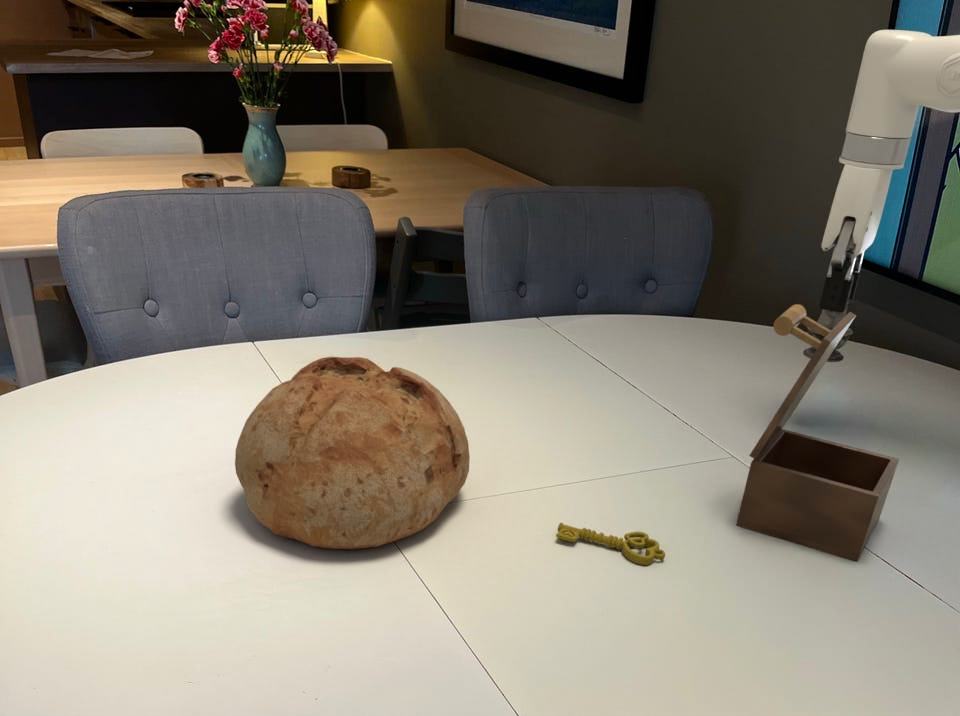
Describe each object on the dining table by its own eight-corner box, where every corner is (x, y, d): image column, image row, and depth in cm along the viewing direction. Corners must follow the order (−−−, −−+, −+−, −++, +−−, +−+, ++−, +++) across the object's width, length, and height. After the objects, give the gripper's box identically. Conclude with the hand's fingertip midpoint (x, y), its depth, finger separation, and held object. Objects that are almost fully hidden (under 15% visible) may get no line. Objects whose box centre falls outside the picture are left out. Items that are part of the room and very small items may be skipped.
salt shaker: (836, 365, 129) (860, 270, 122) (793, 355, 132) (815, 261, 125) (852, 355, 133) (876, 262, 126) (810, 345, 136) (832, 254, 129)
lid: (856, 315, 106) (806, 286, 107) (830, 342, 97) (776, 310, 98) (784, 426, 115) (738, 398, 116) (755, 459, 107) (706, 429, 108)
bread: (386, 582, 96) (388, 438, 88) (191, 521, 104) (176, 383, 95) (496, 481, 117) (506, 356, 108) (326, 436, 124) (324, 316, 115)
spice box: (878, 520, 115) (899, 458, 110) (857, 561, 106) (878, 496, 102) (764, 488, 120) (780, 428, 115) (735, 525, 111) (751, 461, 107)
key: (552, 530, 105) (567, 511, 108) (550, 541, 105) (565, 521, 109) (660, 560, 101) (672, 539, 105) (658, 570, 102) (670, 549, 106)
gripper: (857, 140, 126) (821, 288, 136) (826, 155, 114) (790, 315, 124) (918, 147, 123) (877, 298, 133) (893, 163, 111) (850, 327, 121)
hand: (835, 305), depth 129 cm, fingers closed on salt shaker, 3 cm apart
